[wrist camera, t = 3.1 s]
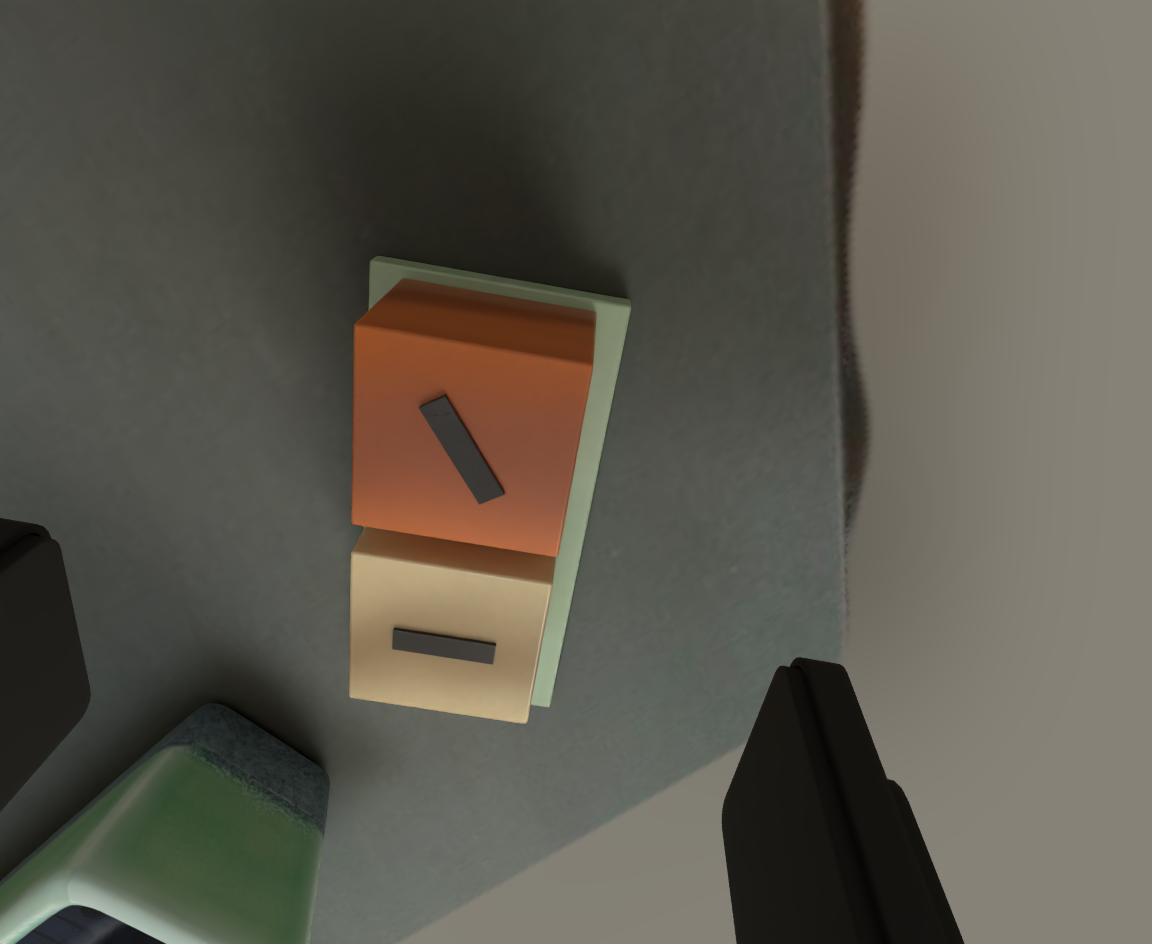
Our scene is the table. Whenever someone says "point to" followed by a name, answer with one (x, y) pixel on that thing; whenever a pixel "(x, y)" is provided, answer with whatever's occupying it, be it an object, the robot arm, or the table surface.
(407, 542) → the tan slotted cube
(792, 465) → the table surface
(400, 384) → the orange cube
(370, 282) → the board
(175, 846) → the planter
